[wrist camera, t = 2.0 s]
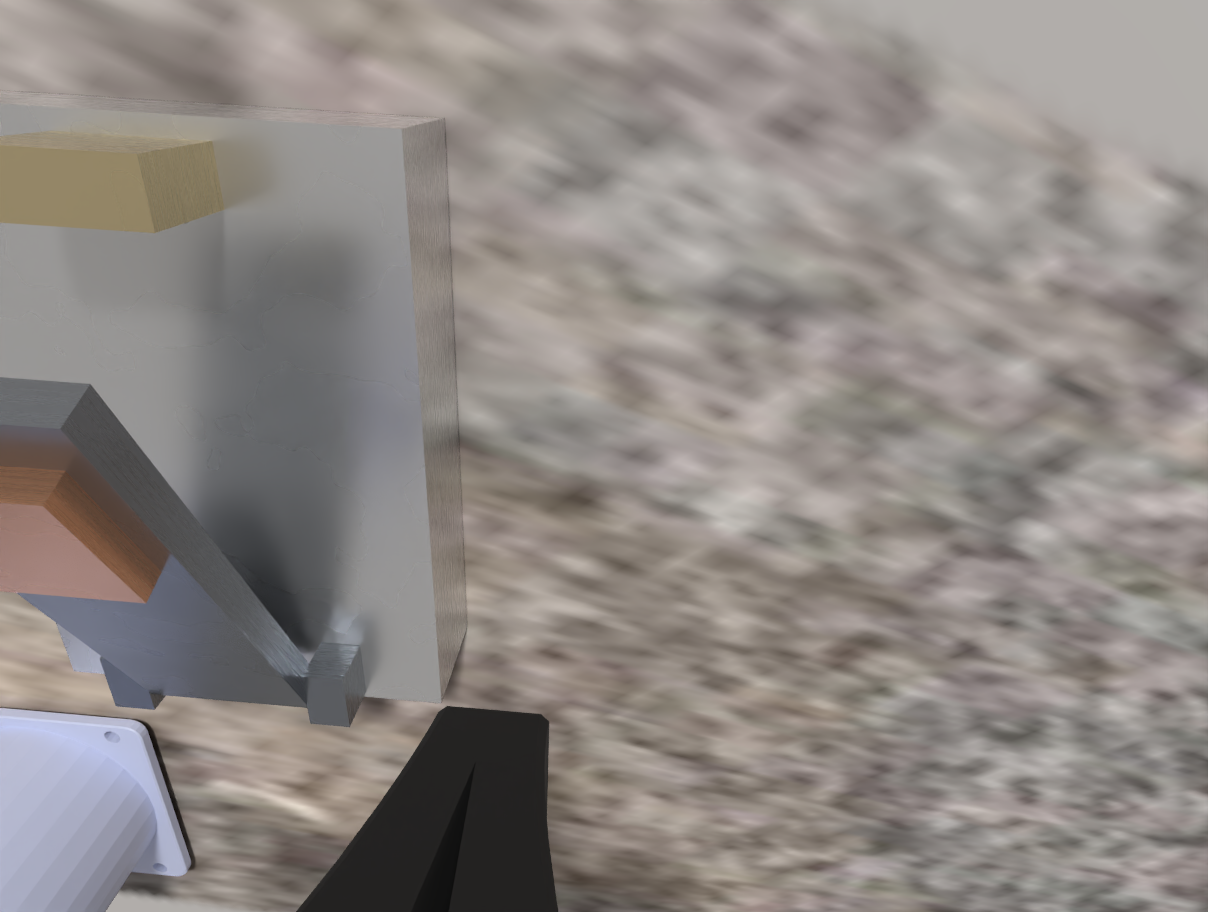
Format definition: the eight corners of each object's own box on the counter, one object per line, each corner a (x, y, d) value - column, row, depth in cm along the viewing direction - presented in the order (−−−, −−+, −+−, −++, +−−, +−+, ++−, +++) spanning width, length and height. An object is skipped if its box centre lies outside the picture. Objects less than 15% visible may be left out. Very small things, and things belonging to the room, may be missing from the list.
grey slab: (166, 663, 19) (141, 717, 18) (-190, 363, 10) (-270, 441, 9) (319, 676, 19) (301, 732, 18) (90, 383, 10) (35, 465, 9)
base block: (142, 600, 23) (11, 736, 18) (-12, 89, 16) (-279, 99, 12) (467, 627, 22) (417, 773, 18) (444, 118, 16) (357, 140, 11)
